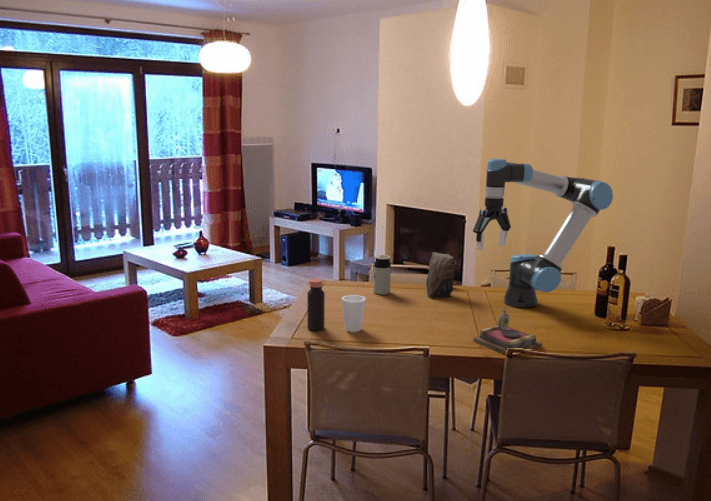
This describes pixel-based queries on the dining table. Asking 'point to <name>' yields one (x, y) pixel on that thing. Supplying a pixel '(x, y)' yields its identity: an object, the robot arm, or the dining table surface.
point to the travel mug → (382, 274)
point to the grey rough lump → (440, 275)
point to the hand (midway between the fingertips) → (490, 247)
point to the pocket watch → (505, 321)
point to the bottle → (316, 305)
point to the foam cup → (353, 312)
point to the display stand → (505, 340)
